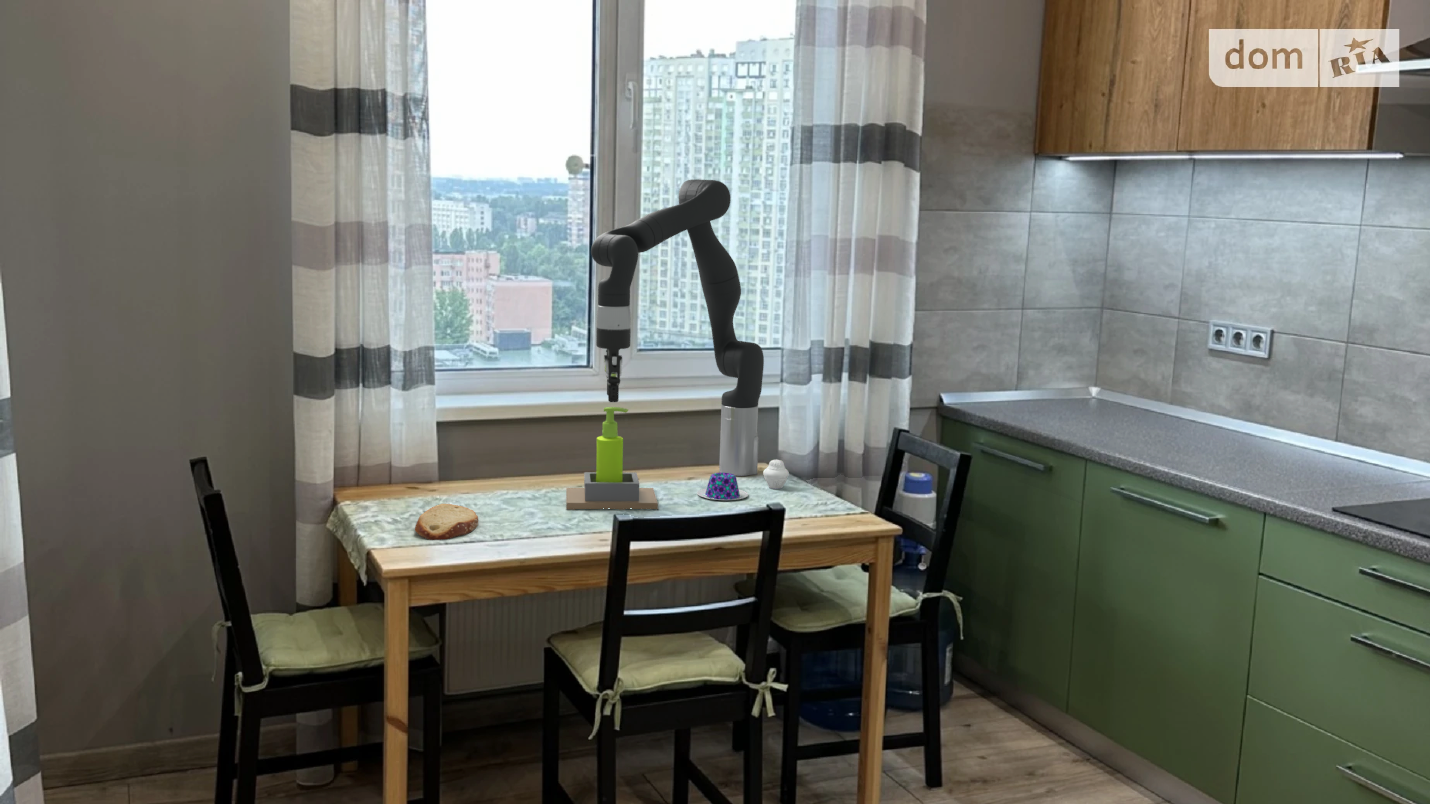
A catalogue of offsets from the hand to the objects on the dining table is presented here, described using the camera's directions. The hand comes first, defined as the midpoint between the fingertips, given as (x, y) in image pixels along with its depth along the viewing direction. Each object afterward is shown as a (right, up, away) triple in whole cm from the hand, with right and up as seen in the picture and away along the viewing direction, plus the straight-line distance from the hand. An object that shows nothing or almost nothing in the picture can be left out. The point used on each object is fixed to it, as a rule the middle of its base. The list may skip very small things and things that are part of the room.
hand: (612, 398), depth 274 cm
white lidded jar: (+37, -22, +23) cm, 49 cm away
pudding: (+25, -23, +13) cm, 36 cm away
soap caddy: (-1, -23, +4) cm, 24 cm away
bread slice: (-33, -27, -20) cm, 47 cm away
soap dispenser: (-1, -22, +4) cm, 22 cm away
